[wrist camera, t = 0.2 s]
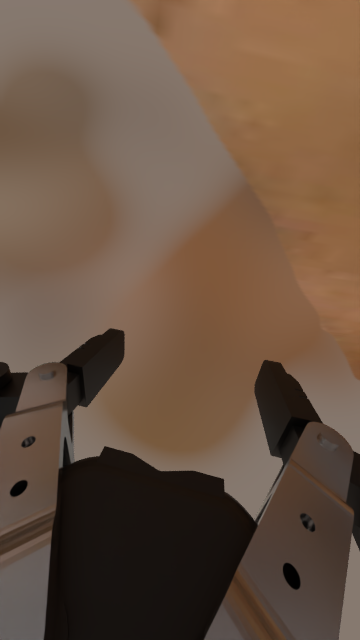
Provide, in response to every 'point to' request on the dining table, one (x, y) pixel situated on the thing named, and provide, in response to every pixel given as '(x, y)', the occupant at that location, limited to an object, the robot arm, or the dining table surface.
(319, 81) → the dining table surface
